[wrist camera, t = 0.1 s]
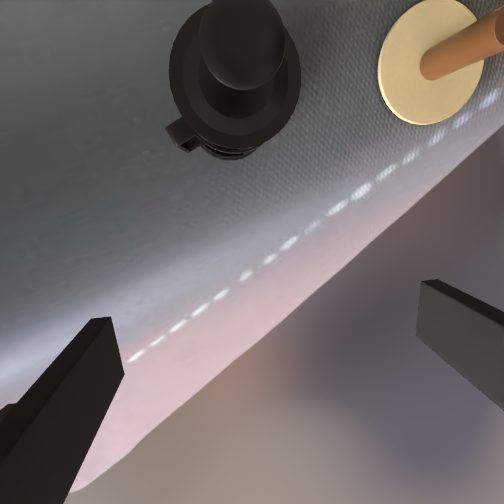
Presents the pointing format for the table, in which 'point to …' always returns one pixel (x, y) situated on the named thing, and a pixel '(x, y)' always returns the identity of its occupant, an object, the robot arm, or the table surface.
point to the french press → (232, 78)
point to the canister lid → (436, 59)
